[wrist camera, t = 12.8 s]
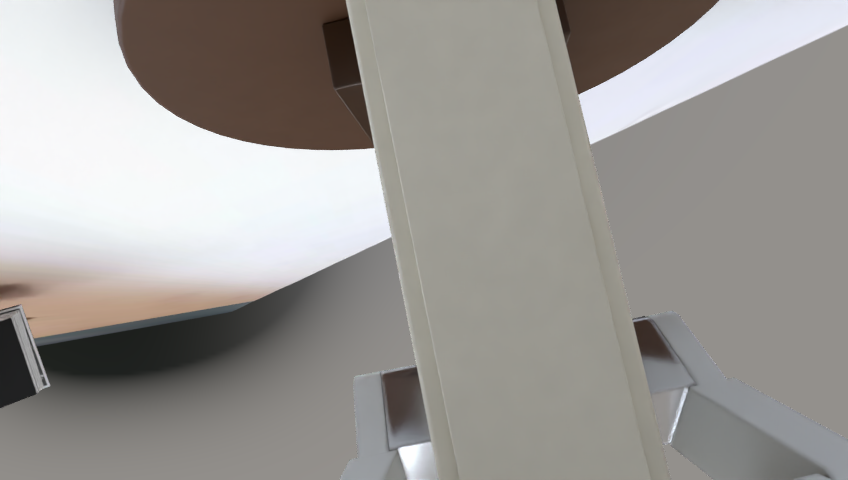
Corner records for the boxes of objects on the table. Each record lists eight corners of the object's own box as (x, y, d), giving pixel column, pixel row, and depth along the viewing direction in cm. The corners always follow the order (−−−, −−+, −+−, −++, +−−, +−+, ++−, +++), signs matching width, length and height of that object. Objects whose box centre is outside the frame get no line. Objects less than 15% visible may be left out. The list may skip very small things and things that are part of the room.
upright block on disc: (-144, -114, 8) (-60, 875, 6) (1041, -457, 6) (1489, 685, 5) (275, 158, 23) (326, 453, 22) (638, 76, 22) (716, 383, 21)
